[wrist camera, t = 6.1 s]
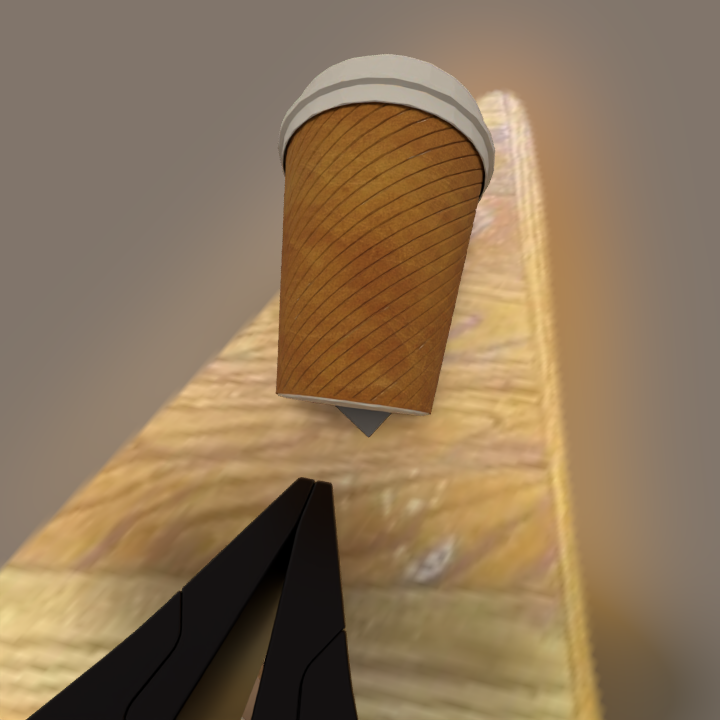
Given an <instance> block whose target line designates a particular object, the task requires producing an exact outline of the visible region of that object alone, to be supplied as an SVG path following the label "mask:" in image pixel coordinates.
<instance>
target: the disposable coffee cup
mask: <svg viewBox="0 0 720 720" xmlns="http://www.w3.org/2000/svg"><path fill="white" fill-rule="evenodd" d="M278 150H279V155H280V160H281V165H282V169H283V174H284V176H285V193H284V217H283V219H284V220H283V246H282V266H281V292H280V313H279V340H278V363H277V386H276V394H278V396H281V397H285V398H289V399H296V400H302V401H309V402H315V403H322V404H329V405H336V406H343V407H350V408H358V409H367V410H375V411H383V412H392V413H401V414H411V415H420V416H424V415H429V414H431V411H432V406H433V401H434V396H435V392H436V388H437V383H438V378H439V374H440V370H441V365H442V360H443V356H444V352H445V347H446V343H447V338H448V333H449V329H450V325H451V321H452V316H453V312H454V308H455V303H456V298H457V294H458V289H459V285H460V281H461V275H462V271H463V267H464V263H465V259H466V254H467V248H468V244H469V240H470V235H471V231H472V227H473V221H474V217H475V213H476V210H475V209H477V204H478V203H479V201H480V200H481V198H482V195H483V193H484V192H485V190H486V188H487V187H488V185H489V183H490V180H491V177H492V174H493V171H494V160H495V148H494V144H493V140H492V137H491V133H490V131H489V130H488V128H487V126H486V124H485V122H484V121H483V117H482V114H481V112H480V110H479V107H478V105H477V103H476V101H475V99H474V98H473V97H472V95H471V94H470V93H469V91H468V90H467V89H466V88H465V87H464V86H463V85H462V84H461V83H460V82H459V81H458V80H457V79H455V78H454V77H453V76H451V75H450V74H448V73H446V72H445V71H443V70H441V69H439V68H438V67H436V66H435V65H433V64H431V63H428V62H424V61H421V60H418V59H415V58H412V57H406V56H400V55H392V54H383V55H373V56H364V57H358V58H351V59H348V60H346V61H343V62H341V63H338V64H336V65H334V66H331V67H330V68H328V69H327V70H326V71H324V72H322V73H321V74H320V75H318V76H317V77H316V78H315V79H314V80H313V81H312V82H311V83H310V84H309V85H308V86H307V88H306V89H305V91H304V92H303V94H302V96H301V97H300V98H298V99H297V100H296V102H295V103H294V104H293V105H292V107H291V108H290V109H289V110H288V112H287V113H286V115H285V117H284V120H283V122H282V124H281V129H280V134H279V139H278Z"/></svg>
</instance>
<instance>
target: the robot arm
mask: <svg viewBox="0 0 720 720" xmlns="http://www.w3.org/2000/svg"><path fill="white" fill-rule="evenodd" d="M345 628H346V625H345V614H344V603H343V593H342V582H341V571H340V560H339V550H338V539H337V528H336V517H335V506H334V496H333V486H332V484H331V483H329V482H324V481H316V482H315V480H313V479H308V478H303V477H300V478H298V479H297V480H296V481H295V482H294V483H293V484H292V485H291V486H290V487H288V488H287V489H286V490H285V491H284V492H283V493H282V494H281V495H280V496H279V497H278V498H277V499H276V500H275V501H274V502H273V503H272V504H271V505H269V506H268V507H267V508H266V509H265V510H264V511H263V512H262V513H261V514H260V515H259V516H258V517H257V518H256V519H255V520H254V521H253V522H251V523H250V524H249V525H248V526H247V527H246V528H245V529H244V530H243V531H242V532H241V533H240V534H239V535H238V536H237V537H236V538H235V539H234V540H232V541H231V542H230V543H229V544H228V545H227V546H226V547H225V548H224V549H223V550H222V551H221V552H220V553H219V554H218V555H217V556H216V557H214V558H213V559H212V560H211V561H210V562H209V563H208V564H207V565H206V566H205V567H204V568H203V569H202V570H201V571H200V572H199V573H198V574H196V575H195V576H194V577H193V578H192V579H191V580H190V581H189V582H188V583H187V584H186V585H185V586H184V587H183V588H182V591H178V592H177V593H176V594H175V595H174V596H173V597H172V598H171V599H170V600H169V601H168V602H167V603H166V604H165V605H164V606H163V607H161V608H160V609H159V610H158V611H157V612H156V613H155V614H154V615H153V616H151V617H150V618H149V619H148V620H147V621H146V622H145V623H144V624H143V625H142V626H140V627H139V628H138V629H137V630H136V631H135V632H134V633H132V634H131V635H130V636H129V637H128V638H126V639H125V640H124V641H123V642H122V643H120V644H119V645H118V646H117V647H116V648H114V649H113V650H112V651H111V652H109V653H108V654H107V655H106V656H105V657H103V658H102V659H101V660H100V661H98V662H97V663H96V664H95V665H93V666H92V667H91V668H90V669H88V670H87V671H86V672H85V673H83V674H82V675H81V676H80V677H79V678H77V679H76V680H75V681H74V682H72V683H71V684H70V685H69V686H67V687H66V688H65V689H64V690H62V691H61V692H60V693H59V694H57V695H56V696H55V697H54V698H52V699H51V700H50V701H49V702H47V703H46V704H45V705H44V706H42V707H41V708H40V709H39V710H37V711H36V712H35V713H34V714H32V715H31V716H30V717H29V718H27V719H26V720H241V718H242V715H243V713H244V710H245V708H246V705H247V702H248V700H249V697H250V695H251V692H252V690H253V687H254V684H255V682H256V679H257V677H258V674H259V671H260V669H261V666H262V664H263V661H264V658H265V656H266V658H265V663H264V667H263V671H262V675H261V679H260V683H259V688H258V692H257V696H256V700H255V704H254V709H253V713H252V717H251V720H358V716H357V710H356V704H355V699H354V693H353V687H352V680H351V671H350V663H349V655H348V645H347V634H346V631H345ZM266 653H267V654H266Z"/></svg>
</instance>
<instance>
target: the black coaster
mask: <svg viewBox="0 0 720 720" xmlns="http://www.w3.org/2000/svg"><path fill="white" fill-rule="evenodd" d="M335 406H336V405H335ZM336 407H337V408H338V409H339V410H340V411H341V412H342V413H343V414H345V415H346V416H347V417H348V418H349V419H350V420H351V421H352V422H353V423H354V424H355V425H356V426H357V427H358V428H359V429H360V430H361V431H362V432H363V433H364V434H366V435H367V436H368V437H370V436H371V435H372V434H373V432H374V431H375V430H376V429H377V428H378V427H379V426H380V425H381V424H382V423H383V421H384V420H385V419H386V418H387V417H388V416H389V415H390V414H391V413H392V412H383V411H375V410H367V409H358V408H350V407H343V406H336Z"/></svg>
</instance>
